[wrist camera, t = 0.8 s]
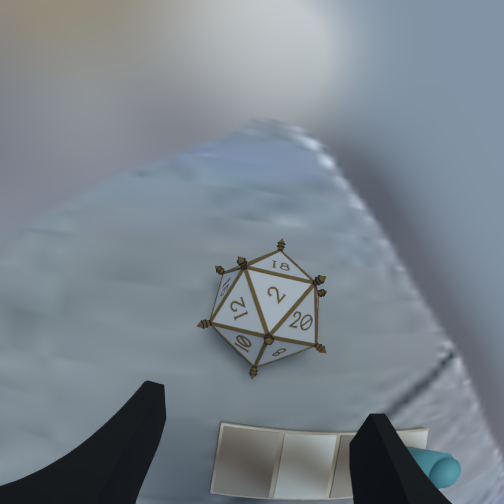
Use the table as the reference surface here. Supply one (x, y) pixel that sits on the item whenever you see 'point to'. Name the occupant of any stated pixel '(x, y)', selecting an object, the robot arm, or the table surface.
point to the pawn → (437, 466)
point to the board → (288, 462)
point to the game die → (267, 308)
